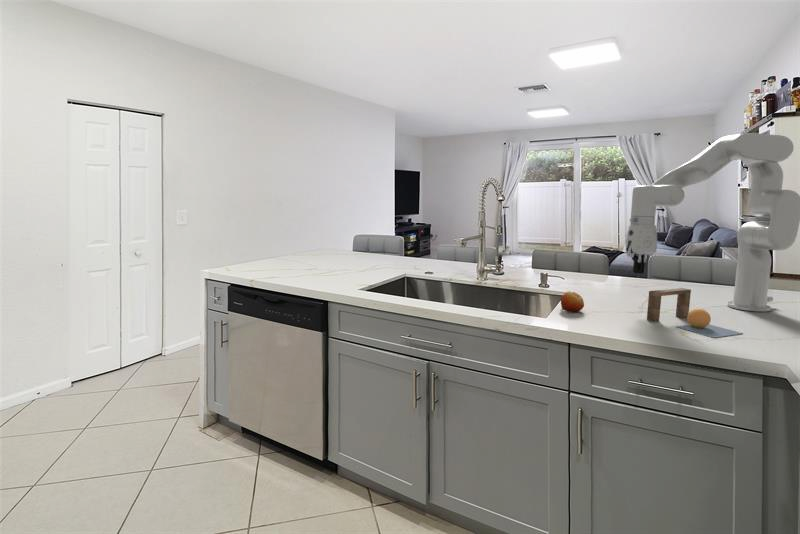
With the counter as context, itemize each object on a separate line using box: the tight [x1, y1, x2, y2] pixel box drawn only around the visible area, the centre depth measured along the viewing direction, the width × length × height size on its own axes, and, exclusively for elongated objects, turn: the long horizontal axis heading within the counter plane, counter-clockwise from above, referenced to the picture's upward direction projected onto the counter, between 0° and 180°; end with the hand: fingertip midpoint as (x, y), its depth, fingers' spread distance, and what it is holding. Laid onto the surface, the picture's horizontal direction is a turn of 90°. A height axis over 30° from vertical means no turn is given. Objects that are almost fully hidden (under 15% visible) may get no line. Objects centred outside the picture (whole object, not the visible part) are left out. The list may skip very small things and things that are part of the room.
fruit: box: [559, 291, 585, 314], centre depth 159 cm, size 8×8×8 cm
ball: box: [686, 308, 712, 328], centre depth 138 cm, size 6×6×6 cm
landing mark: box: [675, 323, 744, 339], centre depth 136 cm, size 12×12×1 cm
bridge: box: [646, 287, 692, 323], centre depth 148 cm, size 3×15×10 cm, turn 110°
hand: (638, 272), depth 159 cm, fingers closed
